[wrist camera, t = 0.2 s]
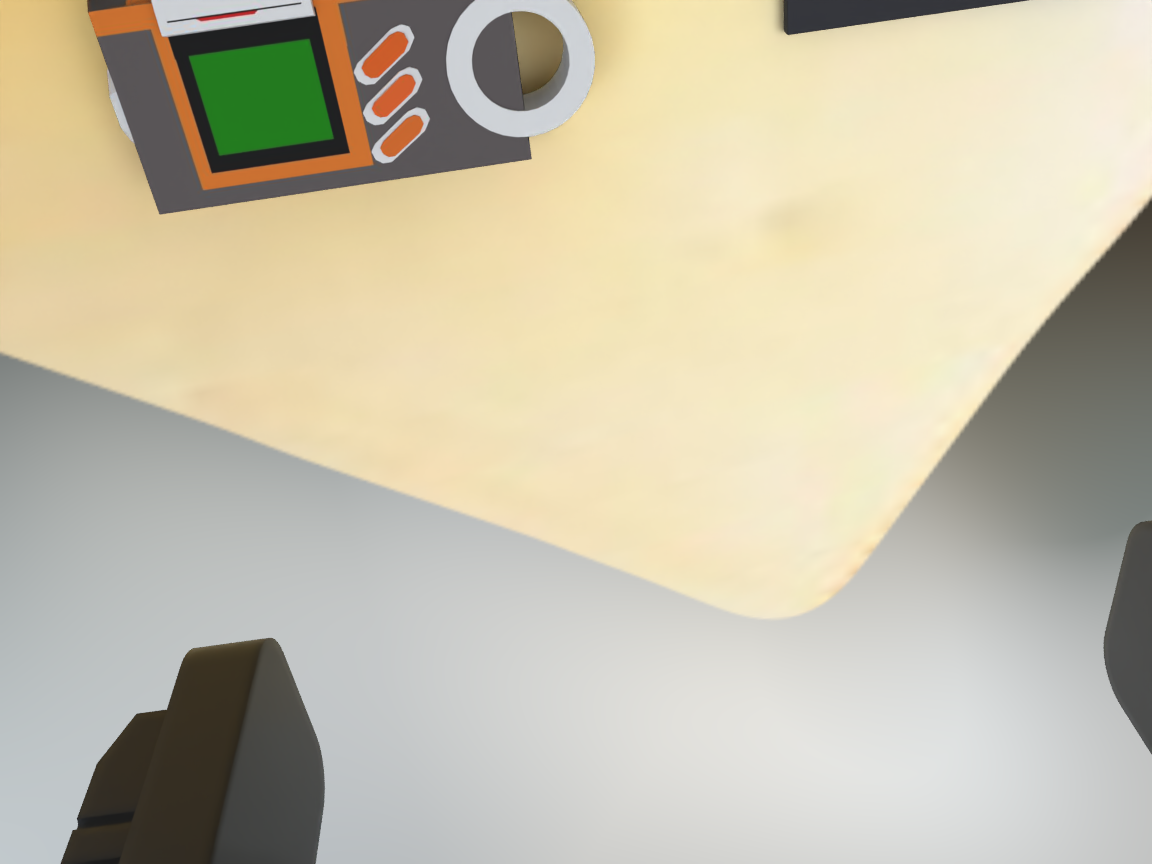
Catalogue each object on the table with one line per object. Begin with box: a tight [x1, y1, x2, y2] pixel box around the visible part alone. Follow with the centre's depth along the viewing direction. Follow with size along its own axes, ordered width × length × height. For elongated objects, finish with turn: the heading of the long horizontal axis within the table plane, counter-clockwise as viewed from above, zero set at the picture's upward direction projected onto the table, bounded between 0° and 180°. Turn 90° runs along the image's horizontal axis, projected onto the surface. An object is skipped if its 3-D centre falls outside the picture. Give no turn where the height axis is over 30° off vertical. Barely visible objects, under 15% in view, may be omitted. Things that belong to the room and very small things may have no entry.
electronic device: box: [87, 0, 595, 214], centre depth 34 cm, size 7×3×15 cm
